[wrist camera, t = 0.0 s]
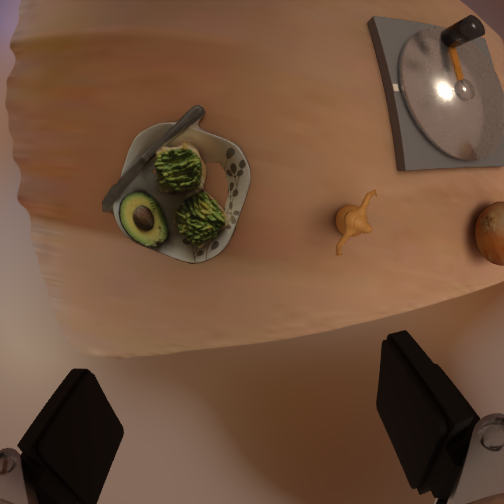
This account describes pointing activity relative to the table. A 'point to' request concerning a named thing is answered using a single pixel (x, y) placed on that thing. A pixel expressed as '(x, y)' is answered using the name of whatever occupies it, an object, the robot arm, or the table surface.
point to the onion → (491, 233)
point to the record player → (453, 90)
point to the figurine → (353, 221)
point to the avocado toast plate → (179, 190)
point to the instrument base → (403, 127)
